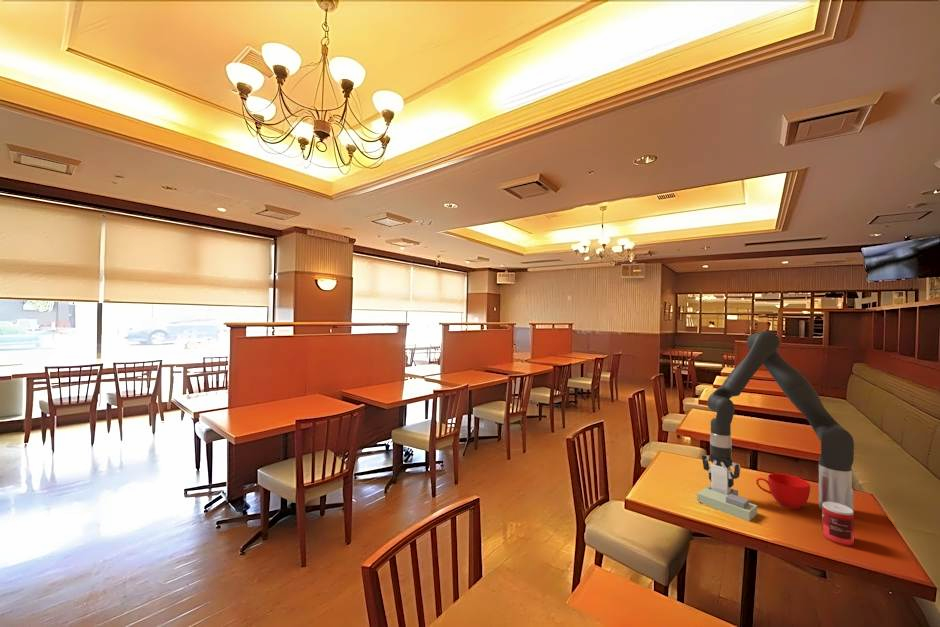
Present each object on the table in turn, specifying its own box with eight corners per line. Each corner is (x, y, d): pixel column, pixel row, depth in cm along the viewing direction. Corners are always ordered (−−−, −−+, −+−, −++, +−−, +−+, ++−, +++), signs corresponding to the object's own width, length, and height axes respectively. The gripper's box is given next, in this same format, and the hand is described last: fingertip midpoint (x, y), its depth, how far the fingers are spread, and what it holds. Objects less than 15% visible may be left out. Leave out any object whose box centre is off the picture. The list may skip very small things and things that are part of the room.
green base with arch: (765, 507, 151) (765, 493, 151) (749, 521, 141) (749, 506, 141) (714, 489, 166) (714, 477, 166) (695, 501, 156) (695, 488, 156)
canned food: (836, 532, 134) (836, 501, 134) (861, 546, 126) (861, 513, 126) (815, 532, 133) (815, 501, 133) (838, 546, 125) (838, 513, 125)
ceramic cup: (754, 492, 164) (754, 468, 164) (805, 502, 155) (805, 477, 155) (758, 505, 153) (758, 480, 153) (814, 516, 144) (814, 490, 144)
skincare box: (731, 495, 158) (731, 466, 158) (727, 498, 156) (727, 469, 156) (714, 489, 163) (714, 461, 163) (710, 492, 160) (710, 464, 160)
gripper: (744, 446, 156) (744, 488, 156) (705, 437, 167) (706, 476, 167) (737, 451, 151) (737, 493, 151) (698, 441, 163) (698, 480, 163)
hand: (720, 484), depth 159 cm, fingers closed on skincare box, 6 cm apart
